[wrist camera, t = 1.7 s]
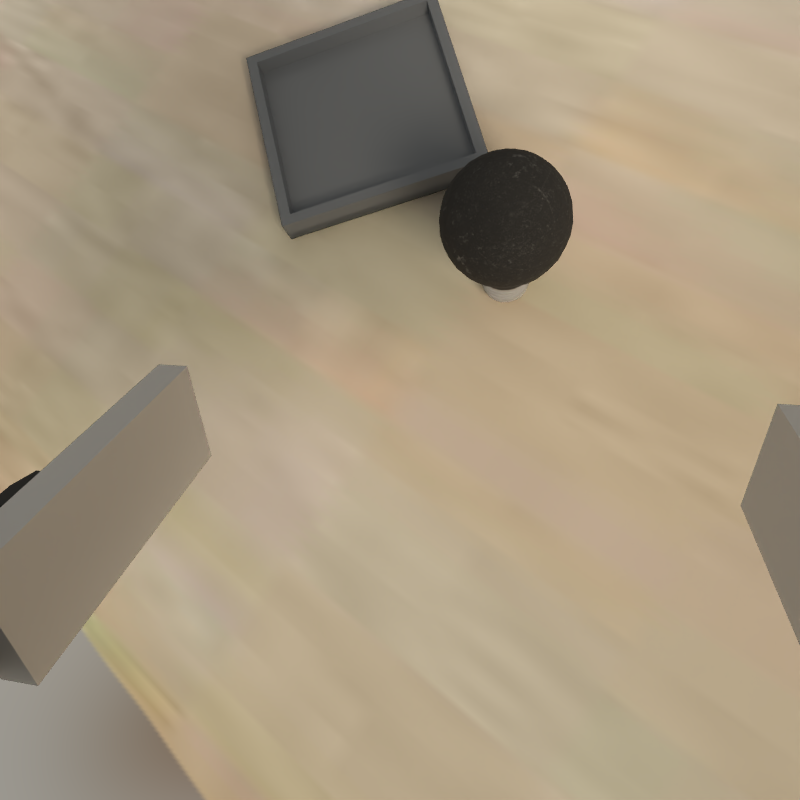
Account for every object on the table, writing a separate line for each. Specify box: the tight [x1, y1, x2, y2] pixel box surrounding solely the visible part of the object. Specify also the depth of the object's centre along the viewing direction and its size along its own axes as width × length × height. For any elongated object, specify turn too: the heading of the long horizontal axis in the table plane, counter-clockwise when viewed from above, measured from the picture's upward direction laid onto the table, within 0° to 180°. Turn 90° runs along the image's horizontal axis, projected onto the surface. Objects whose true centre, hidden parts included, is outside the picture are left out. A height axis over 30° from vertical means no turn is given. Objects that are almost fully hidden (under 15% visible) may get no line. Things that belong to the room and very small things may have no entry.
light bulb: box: [439, 149, 573, 302], centre depth 27 cm, size 6×6×10 cm
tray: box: [246, 0, 488, 239], centre depth 35 cm, size 12×12×2 cm
